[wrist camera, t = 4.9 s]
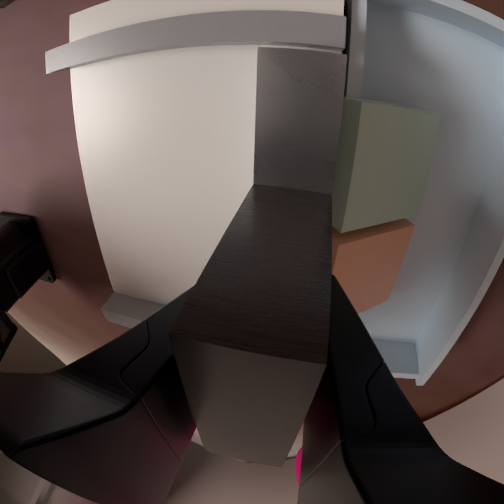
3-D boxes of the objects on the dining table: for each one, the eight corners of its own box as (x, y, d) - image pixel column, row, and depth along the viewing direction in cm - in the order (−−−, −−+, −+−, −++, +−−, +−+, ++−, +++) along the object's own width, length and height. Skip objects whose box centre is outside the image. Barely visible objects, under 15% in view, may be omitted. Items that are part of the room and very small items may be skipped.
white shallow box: (144, 292, 21) (113, 338, 17) (109, 17, 10) (45, 16, 7) (300, 323, 19) (291, 382, 15) (340, -1, 9) (347, -33, 5)
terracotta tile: (304, 312, 14) (317, 329, 13) (319, 228, 11) (338, 245, 11) (373, 286, 16) (388, 300, 15) (396, 212, 13) (414, 225, 12)
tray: (304, 329, 19) (297, 373, 16) (347, -10, 8) (354, -35, 5) (416, 343, 18) (423, 385, 15) (510, 44, 7) (553, 46, 4)
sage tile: (321, 217, 11) (341, 233, 10) (336, 95, 9) (362, 102, 8) (399, 203, 13) (417, 215, 12) (418, 107, 10) (440, 115, 9)
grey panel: (261, 323, 15) (215, 476, 9) (277, 53, 8) (127, 19, 2) (301, 330, 15) (270, 488, 8) (340, 59, 8) (399, 21, 1)
